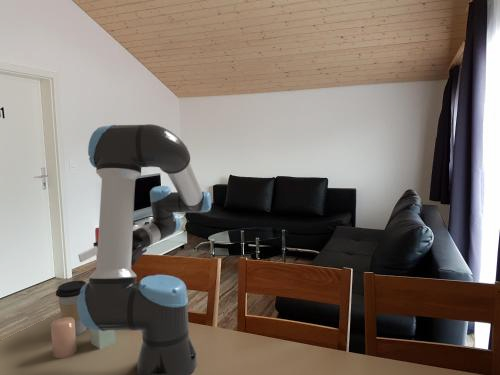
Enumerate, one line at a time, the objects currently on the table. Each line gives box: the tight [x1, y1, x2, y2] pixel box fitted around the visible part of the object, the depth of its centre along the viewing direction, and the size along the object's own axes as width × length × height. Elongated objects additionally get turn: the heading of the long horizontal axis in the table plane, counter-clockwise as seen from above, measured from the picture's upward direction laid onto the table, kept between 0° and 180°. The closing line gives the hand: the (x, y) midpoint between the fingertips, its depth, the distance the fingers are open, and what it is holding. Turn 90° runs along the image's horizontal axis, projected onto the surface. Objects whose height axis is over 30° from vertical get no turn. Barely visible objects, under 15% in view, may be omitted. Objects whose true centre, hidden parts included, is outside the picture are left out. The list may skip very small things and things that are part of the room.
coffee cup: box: [55, 280, 87, 336], centre depth 117 cm, size 9×9×15 cm
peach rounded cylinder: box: [50, 317, 78, 360], centre depth 105 cm, size 6×6×9 cm
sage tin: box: [89, 329, 117, 350], centre depth 110 cm, size 5×5×8 cm
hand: (92, 264), depth 118 cm, fingers open, 13 cm apart
